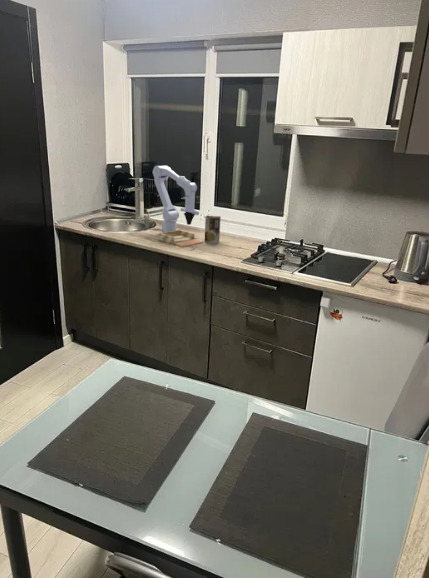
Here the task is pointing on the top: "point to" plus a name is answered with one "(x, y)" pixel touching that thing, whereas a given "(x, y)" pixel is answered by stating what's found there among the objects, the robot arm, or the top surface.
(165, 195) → the robot arm
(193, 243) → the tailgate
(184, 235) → the cart bed
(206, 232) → the coffee box
